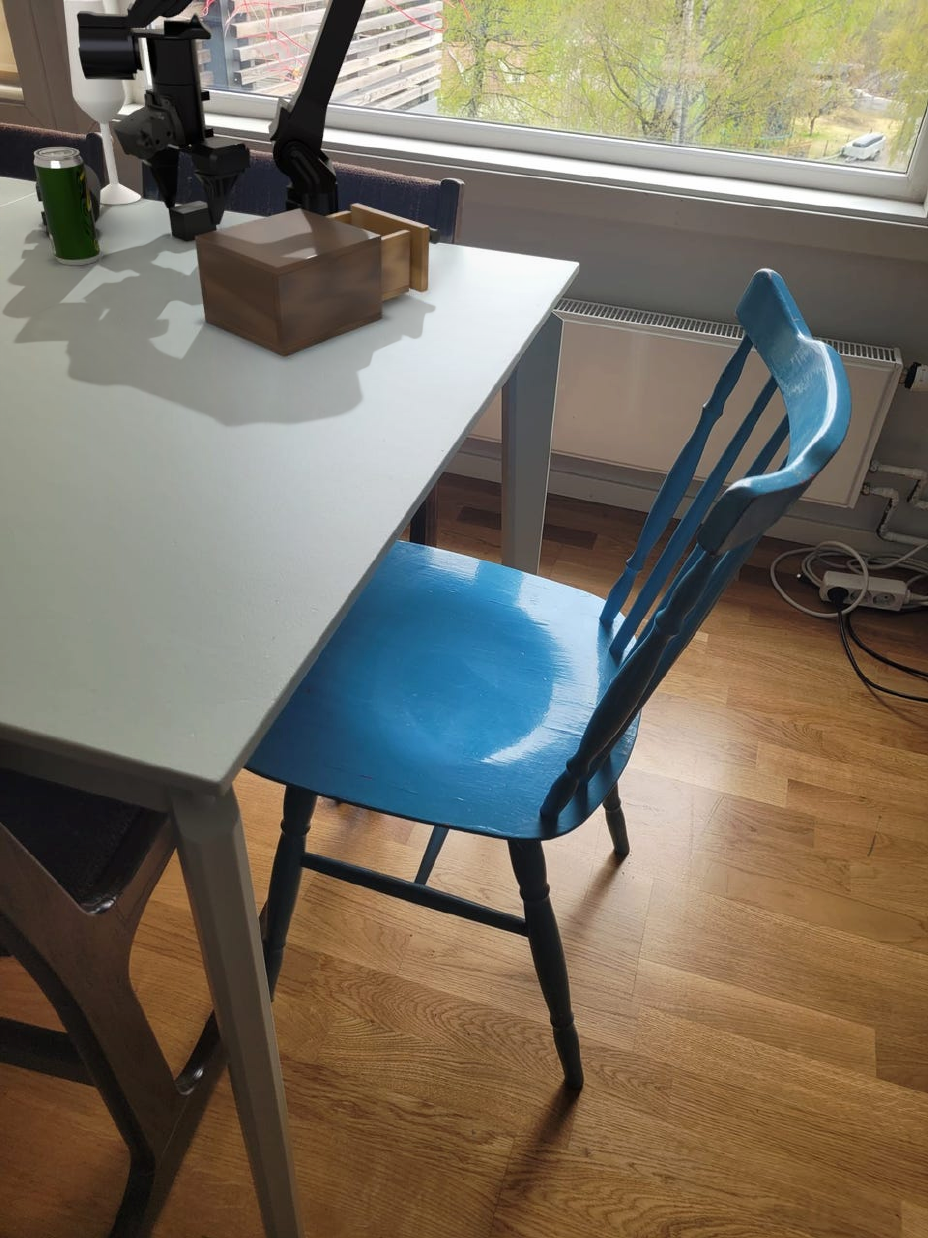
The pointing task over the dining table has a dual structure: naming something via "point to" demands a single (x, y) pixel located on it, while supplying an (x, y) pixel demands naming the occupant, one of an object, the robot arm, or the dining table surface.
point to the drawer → (396, 247)
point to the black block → (190, 220)
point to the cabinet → (290, 279)
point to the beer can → (67, 205)
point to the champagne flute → (97, 99)
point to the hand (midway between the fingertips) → (193, 216)
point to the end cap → (93, 191)
